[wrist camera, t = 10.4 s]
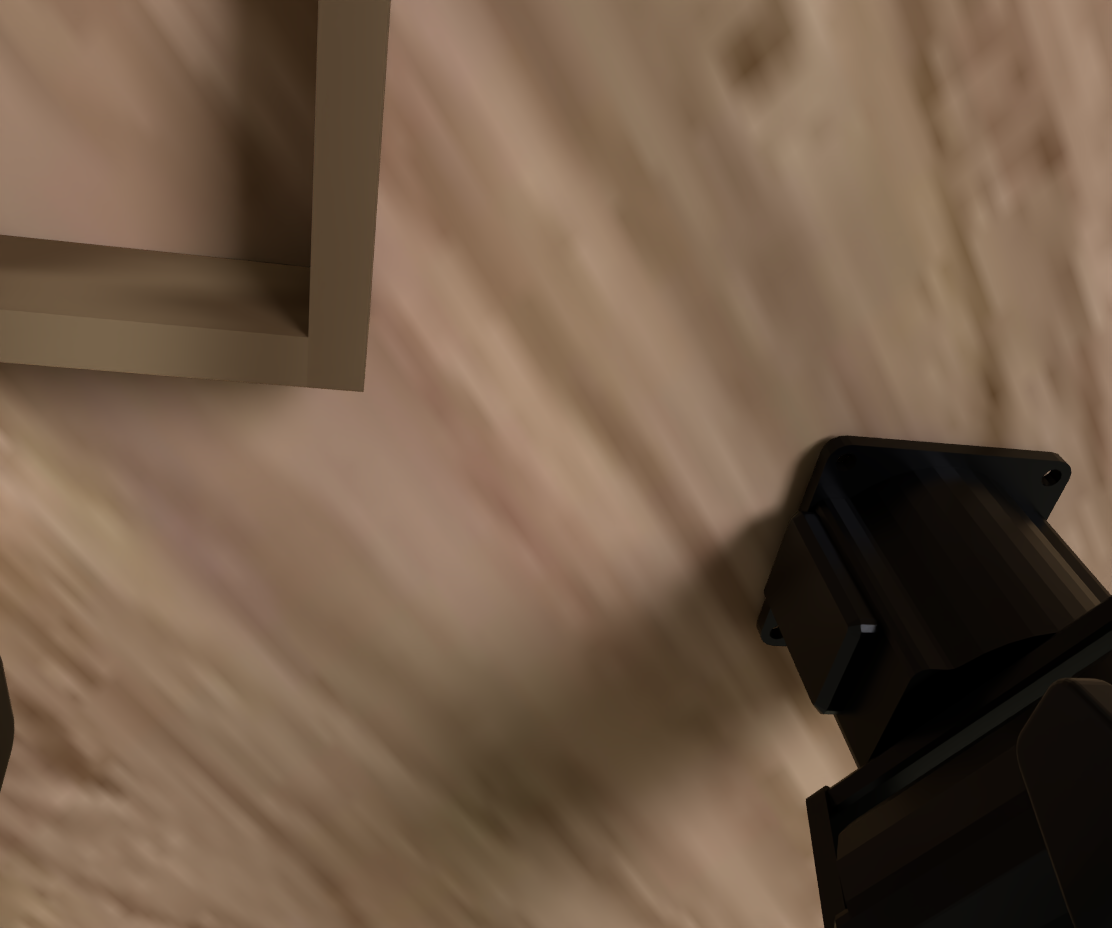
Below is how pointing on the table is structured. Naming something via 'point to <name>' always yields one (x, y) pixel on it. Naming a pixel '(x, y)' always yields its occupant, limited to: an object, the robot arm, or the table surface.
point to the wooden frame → (229, 262)
